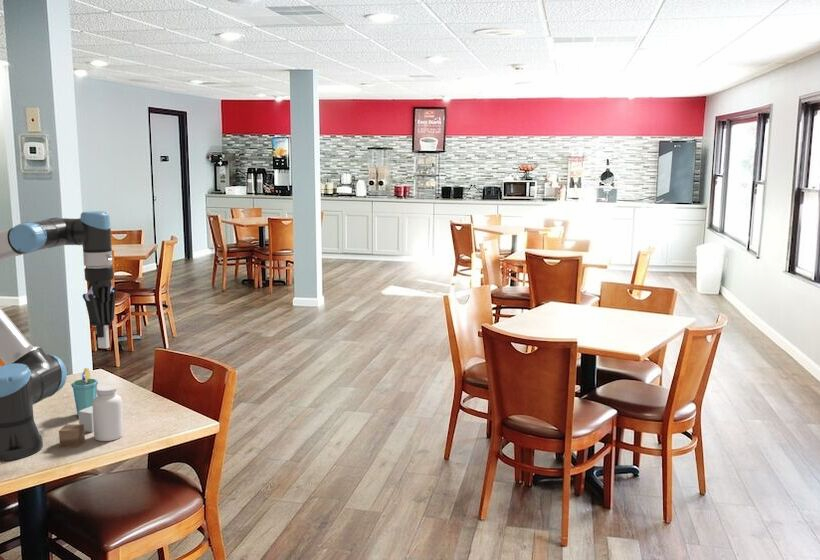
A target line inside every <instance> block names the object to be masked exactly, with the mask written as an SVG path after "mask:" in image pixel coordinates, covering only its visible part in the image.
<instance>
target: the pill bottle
mask: <svg viewBox="0 0 820 560" xmlns="http://www.w3.org/2000/svg"><path fill="white" fill-rule="evenodd" d="M92 404H93V423H94V432H93V436H94V439H95V441H100V442H109V441H110V442H111V441H115V440H118V439H120V438H122V437H123V435H124V420H123V418H124V417H123V399H122V396H120V395H119V394H117V387H116V385H112V384H111V385H110V384H107V385H100V386H97V394H96V397H95V398H94V400H93V403H92Z"/></svg>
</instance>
